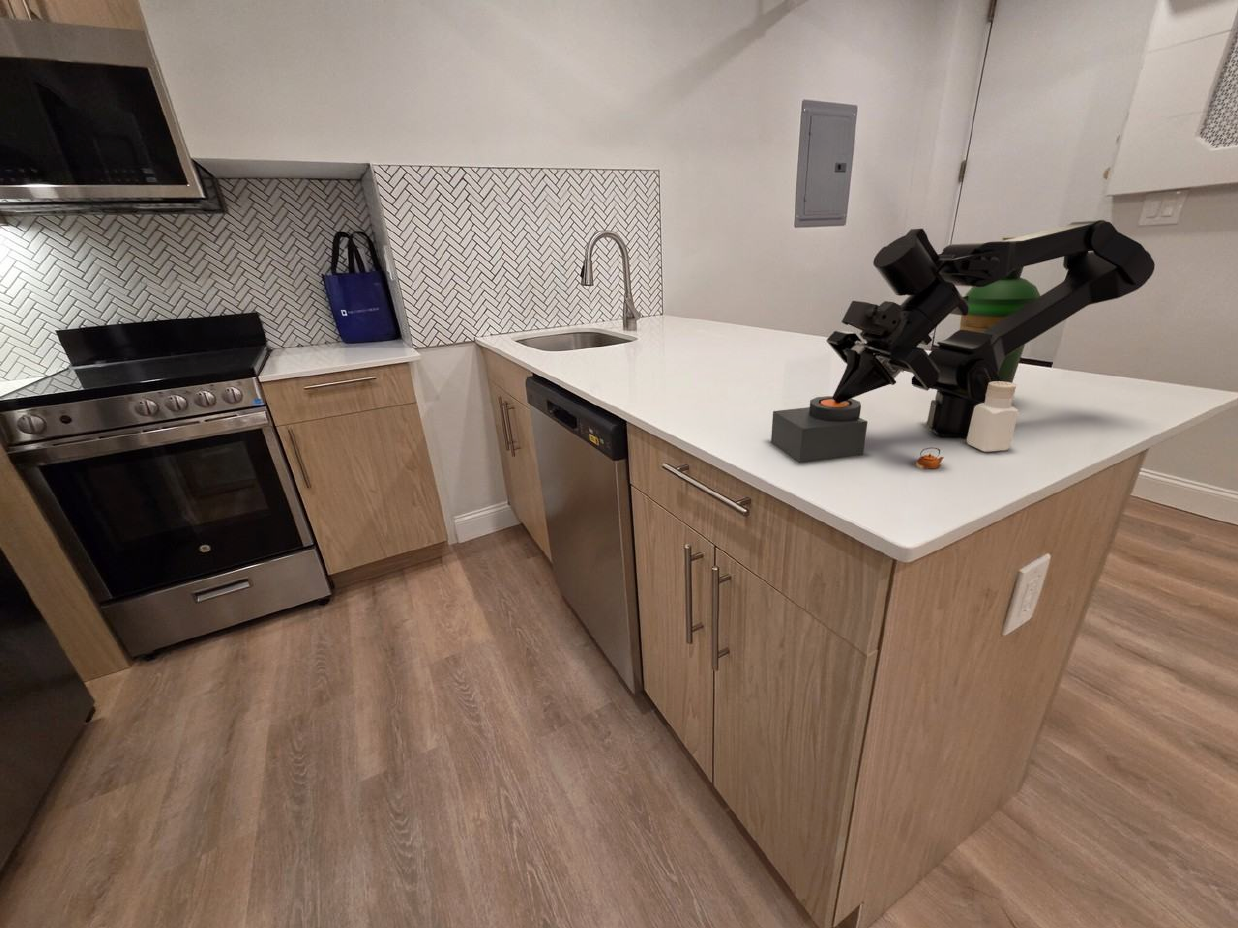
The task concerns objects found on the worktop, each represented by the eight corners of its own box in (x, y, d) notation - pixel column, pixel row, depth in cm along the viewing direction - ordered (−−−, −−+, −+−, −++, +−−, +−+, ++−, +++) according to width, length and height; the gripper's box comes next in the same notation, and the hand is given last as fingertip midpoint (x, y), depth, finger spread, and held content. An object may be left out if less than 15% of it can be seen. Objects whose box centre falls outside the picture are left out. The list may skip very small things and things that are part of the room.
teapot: (918, 460, 71) (921, 442, 70) (942, 464, 69) (946, 446, 68) (913, 467, 69) (916, 449, 68) (938, 472, 67) (942, 453, 66)
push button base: (833, 434, 82) (838, 392, 79) (868, 454, 73) (875, 408, 71) (770, 442, 80) (773, 399, 77) (799, 463, 72) (803, 416, 69)
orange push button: (838, 409, 77) (839, 398, 76) (854, 416, 73) (855, 405, 73) (814, 411, 77) (815, 400, 76) (829, 419, 73) (830, 407, 72)
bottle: (932, 395, 99) (963, 239, 88) (992, 394, 97) (1031, 236, 86) (958, 411, 89) (996, 238, 78) (1025, 410, 88) (1073, 234, 77)
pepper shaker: (1010, 451, 72) (1028, 386, 68) (983, 453, 72) (999, 388, 68) (989, 441, 76) (1004, 379, 72) (963, 443, 75) (978, 381, 72)
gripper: (845, 276, 77) (772, 354, 80) (937, 281, 60) (841, 380, 63) (883, 325, 81) (813, 397, 84) (980, 343, 64) (888, 433, 67)
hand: (835, 400), depth 74 cm, fingers closed, pressing on orange push button
